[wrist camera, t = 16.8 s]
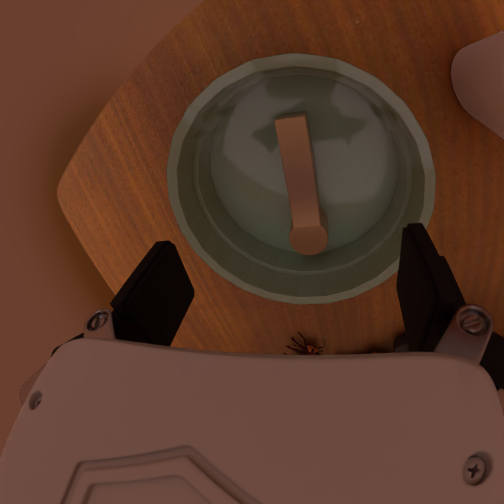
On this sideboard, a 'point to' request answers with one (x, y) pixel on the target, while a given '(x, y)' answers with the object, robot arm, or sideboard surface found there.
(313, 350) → the insect
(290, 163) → the round-ended wooden block
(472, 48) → the cup
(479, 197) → the sideboard surface
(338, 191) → the bowl
